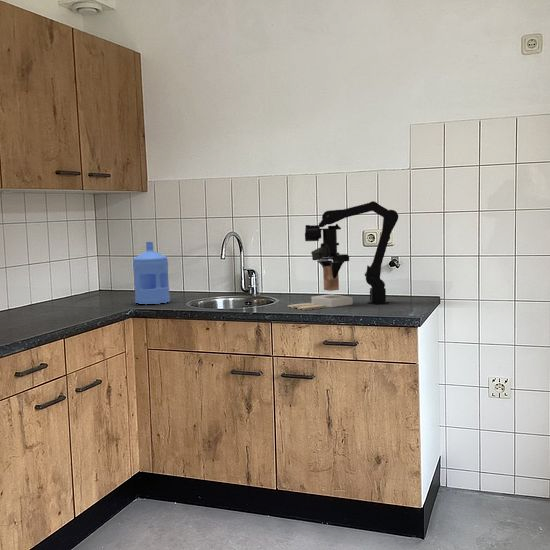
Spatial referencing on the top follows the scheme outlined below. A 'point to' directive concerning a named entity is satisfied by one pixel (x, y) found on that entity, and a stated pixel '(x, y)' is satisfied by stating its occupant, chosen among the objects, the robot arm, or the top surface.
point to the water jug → (151, 277)
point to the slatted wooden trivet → (307, 306)
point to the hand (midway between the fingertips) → (331, 277)
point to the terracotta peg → (330, 279)
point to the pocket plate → (332, 300)
